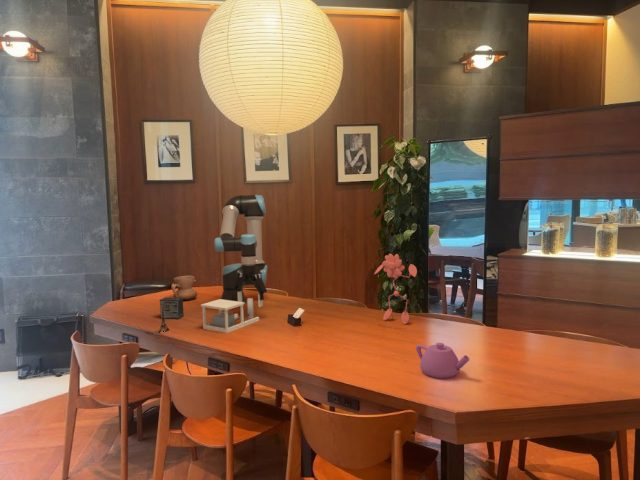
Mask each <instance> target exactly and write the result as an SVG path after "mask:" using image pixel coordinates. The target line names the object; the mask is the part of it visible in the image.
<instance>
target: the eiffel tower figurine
mask: <svg viewBox="0 0 640 480" xmlns="http://www.w3.org/2000/svg"><path fill="white" fill-rule="evenodd" d="M162 307H163V306H162ZM161 331H163V332H164V331H165V332H164V333H166V332H169V331H171V329H170V328H169V327H168V325H167V323H166V319H164V313H163V308H162V319H161V324H160V328H159V329H158V331H157V333H151V331H145V332H144V333H145V334H149V335H154V336H157V335H160V334H162V333H160V332H161Z"/></svg>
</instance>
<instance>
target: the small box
mask: <svg viewBox="0 0 640 480" xmlns="http://www.w3.org/2000/svg"><path fill="white" fill-rule="evenodd" d="M159 305H160V306H159V307H160V319H161V320H162V308H163V313H164V320H179V319H181V318H183V317H184V301H183V298H174V297H163V298H161V299H159ZM162 306H163V307H162Z"/></svg>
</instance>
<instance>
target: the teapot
mask: <svg viewBox="0 0 640 480" xmlns="http://www.w3.org/2000/svg"><path fill="white" fill-rule="evenodd" d="M415 349H416V353H417V355H418V357H419V359H420V363H419V367H420V369H421V371H422V373H424V375H426V376H428V377H431V378H436V379H450V378H453V377H456V376H457V375H458V373H459V372H460V371H461V369H462V368H463V367H464V366H465V365H466V364H467V363H468V362H469V361H470V359H471V358H470V357H469V356H468V355H466V354H465V355H463V356H462V357H461V358H460V360H459V359H458V357H457V354H456V353H455V351H454V350H453V349H452V347H450V346H448V345H445V344H444V343H443V342H436V343H435V344H433V345H430V346H425V345H423V344H416V346H415ZM422 349H423V350H425V351H424V353H422Z"/></svg>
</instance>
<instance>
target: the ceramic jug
mask: <svg viewBox="0 0 640 480" xmlns="http://www.w3.org/2000/svg"><path fill="white" fill-rule="evenodd" d="M173 281H174V284H173V285H172V286H171V290H172V293H173V295H172V296H173V297H172V298H183V302H184V301H191V300H193V299H195V298H196V297H197V296H198V292H197V290H195V289H194V288H193V285H194V283H195V282H197V281H196V279H195V276H194V275H183V276H177V277H174V278H173ZM176 288H177V290H176Z"/></svg>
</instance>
